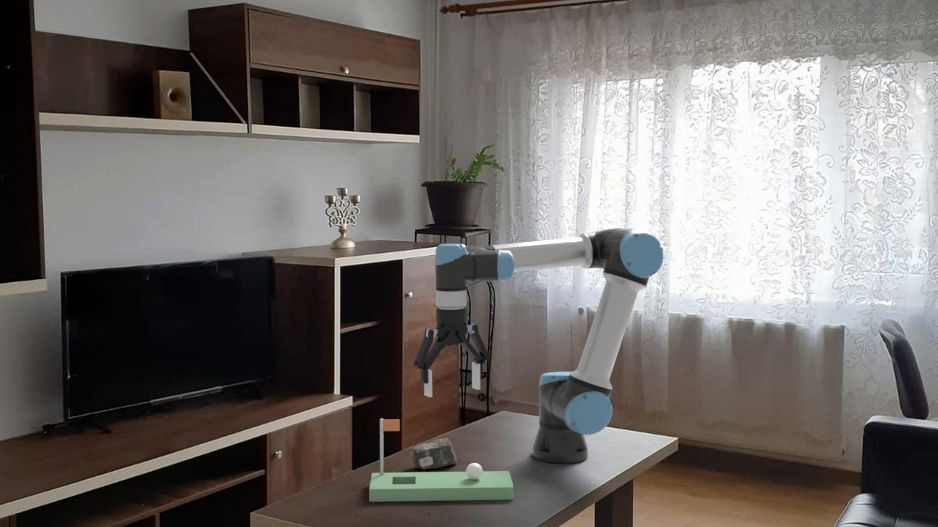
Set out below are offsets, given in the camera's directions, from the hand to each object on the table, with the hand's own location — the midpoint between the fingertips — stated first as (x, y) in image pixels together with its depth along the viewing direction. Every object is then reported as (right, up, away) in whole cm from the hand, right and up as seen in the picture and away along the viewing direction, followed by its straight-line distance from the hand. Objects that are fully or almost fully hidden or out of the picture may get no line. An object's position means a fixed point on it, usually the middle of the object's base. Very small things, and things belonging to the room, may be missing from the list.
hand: (452, 392), depth 229 cm
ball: (+5, -19, -4) cm, 20 cm away
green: (-3, -24, -4) cm, 24 cm away
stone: (-5, -22, +16) cm, 27 cm away
